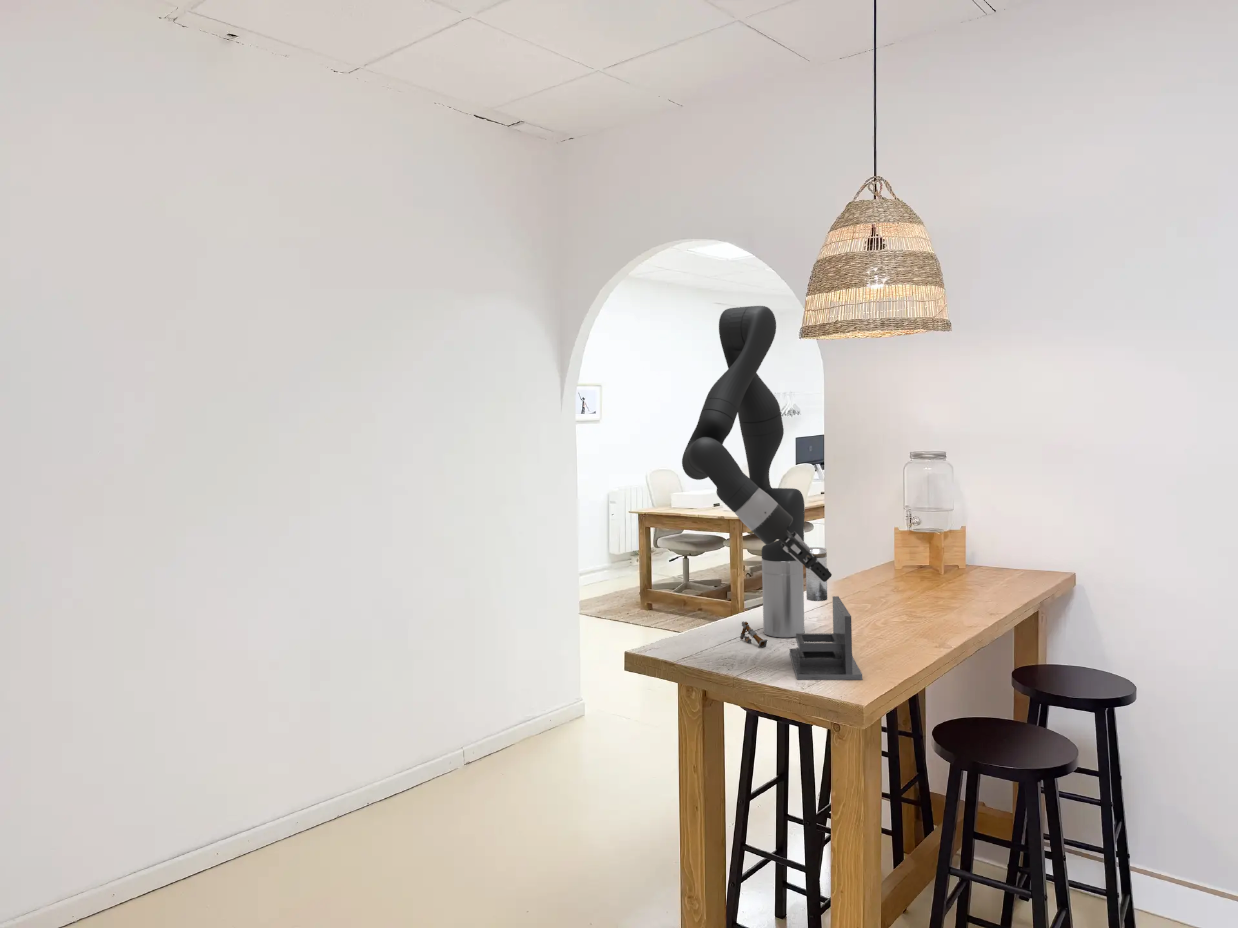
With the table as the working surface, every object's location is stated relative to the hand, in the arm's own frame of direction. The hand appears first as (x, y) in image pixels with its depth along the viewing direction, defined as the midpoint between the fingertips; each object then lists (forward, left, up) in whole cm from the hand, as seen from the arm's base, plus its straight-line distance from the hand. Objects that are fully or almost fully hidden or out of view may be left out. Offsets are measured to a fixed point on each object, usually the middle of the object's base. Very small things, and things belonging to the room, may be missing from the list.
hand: (826, 576), depth 168 cm
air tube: (0, -2, -5) cm, 5 cm away
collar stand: (0, -1, -18) cm, 18 cm away
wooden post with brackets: (-17, -14, -18) cm, 29 cm away
